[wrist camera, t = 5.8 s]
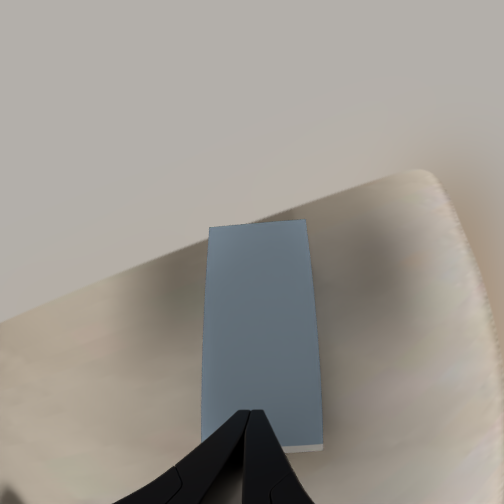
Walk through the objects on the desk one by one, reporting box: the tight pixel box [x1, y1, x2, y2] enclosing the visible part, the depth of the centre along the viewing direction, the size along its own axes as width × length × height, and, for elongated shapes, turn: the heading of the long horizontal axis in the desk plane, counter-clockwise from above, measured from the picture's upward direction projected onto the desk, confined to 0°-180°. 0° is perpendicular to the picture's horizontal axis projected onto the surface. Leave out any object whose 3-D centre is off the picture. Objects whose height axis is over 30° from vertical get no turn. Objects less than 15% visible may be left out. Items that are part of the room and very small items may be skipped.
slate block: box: [201, 219, 323, 453], centre depth 15 cm, size 5×5×11 cm
